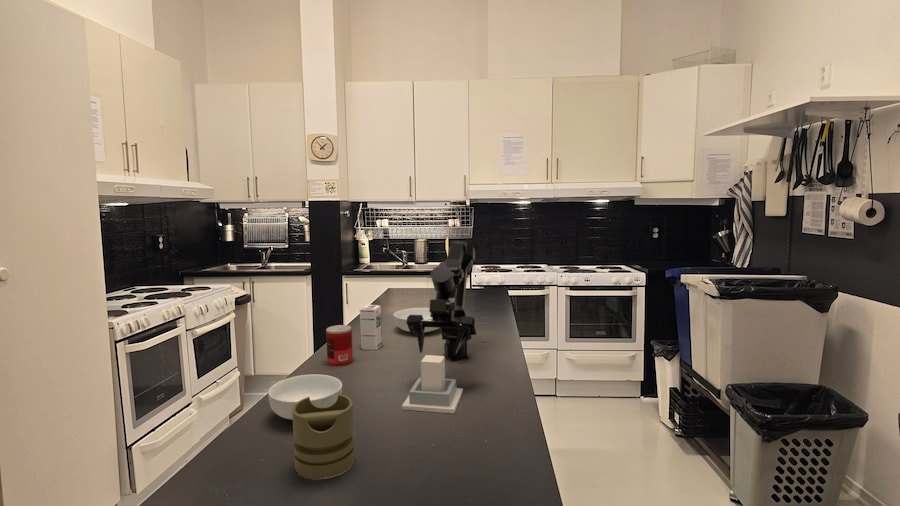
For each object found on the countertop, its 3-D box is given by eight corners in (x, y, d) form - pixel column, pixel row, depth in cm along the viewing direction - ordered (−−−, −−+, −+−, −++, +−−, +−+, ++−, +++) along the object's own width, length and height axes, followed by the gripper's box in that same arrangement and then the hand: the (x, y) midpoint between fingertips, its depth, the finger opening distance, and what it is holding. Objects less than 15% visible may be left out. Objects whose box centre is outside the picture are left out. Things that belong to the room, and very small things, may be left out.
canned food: (357, 359, 157) (356, 325, 156) (344, 367, 150) (342, 332, 148) (336, 356, 160) (335, 324, 158) (322, 364, 152) (321, 330, 151)
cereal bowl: (275, 438, 106) (273, 406, 106) (265, 408, 121) (263, 381, 120) (351, 420, 114) (350, 391, 113) (333, 395, 129) (332, 369, 128)
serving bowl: (457, 327, 193) (457, 310, 193) (427, 341, 176) (427, 322, 175) (414, 320, 204) (414, 304, 204) (382, 333, 187) (382, 315, 186)
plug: (426, 392, 128) (425, 355, 126) (445, 393, 127) (444, 356, 125) (421, 400, 123) (420, 361, 121) (441, 401, 122) (440, 362, 121)
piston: (295, 396, 99) (352, 391, 101) (298, 452, 100) (354, 446, 103) (289, 421, 88) (353, 414, 90) (292, 484, 89) (355, 476, 92)
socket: (415, 388, 132) (415, 374, 132) (462, 392, 130) (462, 377, 129) (402, 409, 120) (401, 393, 119) (454, 413, 117) (454, 397, 117)
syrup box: (377, 350, 166) (375, 308, 164) (360, 349, 167) (359, 307, 165) (382, 345, 171) (381, 304, 169) (366, 344, 172) (365, 304, 171)
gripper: (407, 285, 134) (396, 336, 124) (475, 287, 130) (469, 340, 121) (415, 307, 142) (405, 356, 133) (478, 309, 139) (473, 360, 129)
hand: (437, 353), depth 129 cm, fingers open, 9 cm apart
